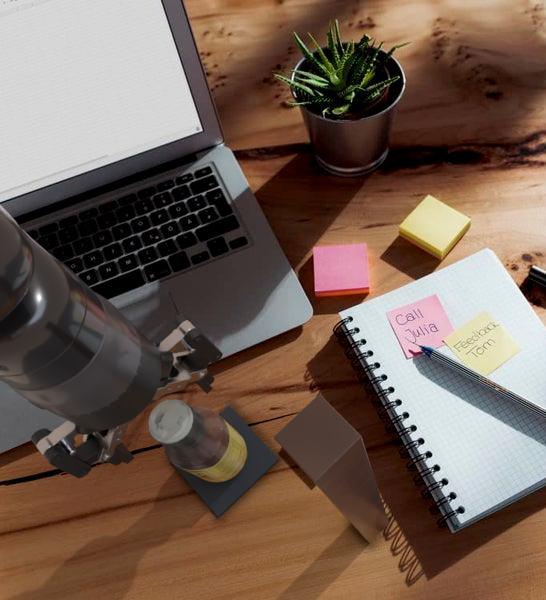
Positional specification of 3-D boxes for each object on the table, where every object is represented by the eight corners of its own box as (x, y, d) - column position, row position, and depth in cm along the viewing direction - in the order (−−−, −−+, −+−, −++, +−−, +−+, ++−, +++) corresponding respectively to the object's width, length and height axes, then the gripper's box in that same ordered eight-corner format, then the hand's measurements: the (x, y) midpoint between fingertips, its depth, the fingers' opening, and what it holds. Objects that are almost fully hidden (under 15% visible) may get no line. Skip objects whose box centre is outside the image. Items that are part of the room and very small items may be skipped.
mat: (219, 517, 74) (217, 517, 73) (170, 460, 77) (168, 459, 76) (279, 460, 76) (278, 459, 76) (230, 406, 79) (229, 405, 79)
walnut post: (370, 543, 73) (315, 482, 31) (351, 523, 74) (272, 437, 31) (389, 523, 74) (361, 436, 31) (370, 503, 74) (319, 393, 32)
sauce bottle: (185, 454, 76) (115, 413, 58) (229, 419, 78) (174, 367, 60) (218, 498, 74) (156, 469, 56) (262, 461, 76) (216, 421, 58)
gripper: (136, 252, 46) (202, 335, 61) (-47, 394, 42) (72, 445, 57) (203, 322, 44) (255, 391, 59) (17, 479, 40) (123, 510, 55)
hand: (165, 418), depth 58 cm, fingers open, 8 cm apart
